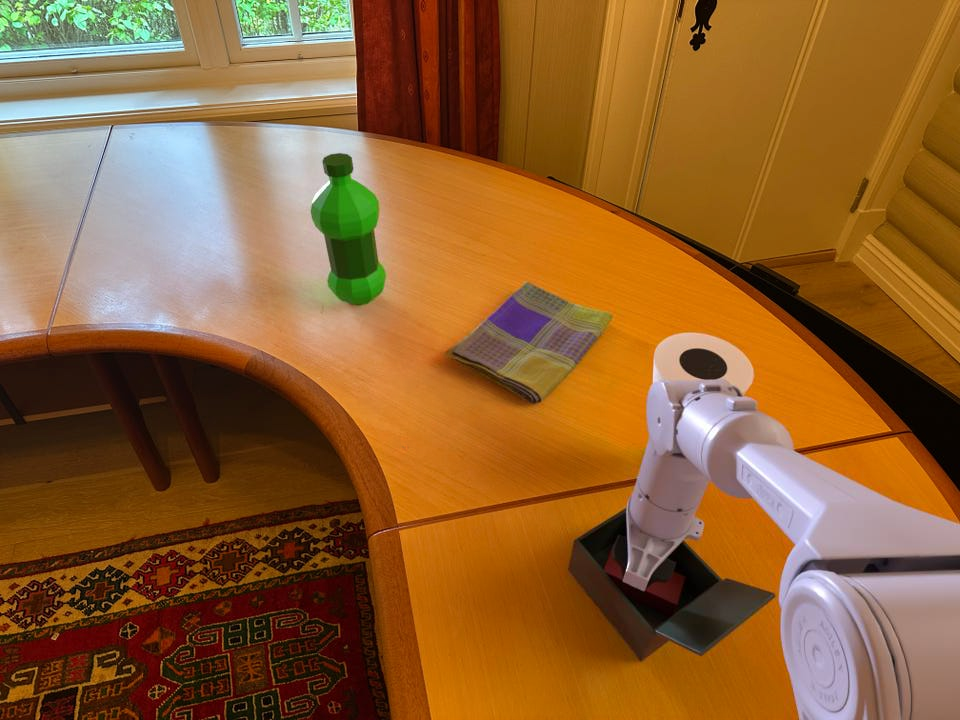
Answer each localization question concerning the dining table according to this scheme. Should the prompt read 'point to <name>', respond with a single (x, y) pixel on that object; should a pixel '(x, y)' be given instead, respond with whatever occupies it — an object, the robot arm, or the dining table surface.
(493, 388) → the dining table surface
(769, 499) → the robot arm
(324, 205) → the plastic bottle
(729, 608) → the carton flap
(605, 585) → the carton
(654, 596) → the red rectangular block
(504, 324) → the dish towel
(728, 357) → the white paper towel roll
